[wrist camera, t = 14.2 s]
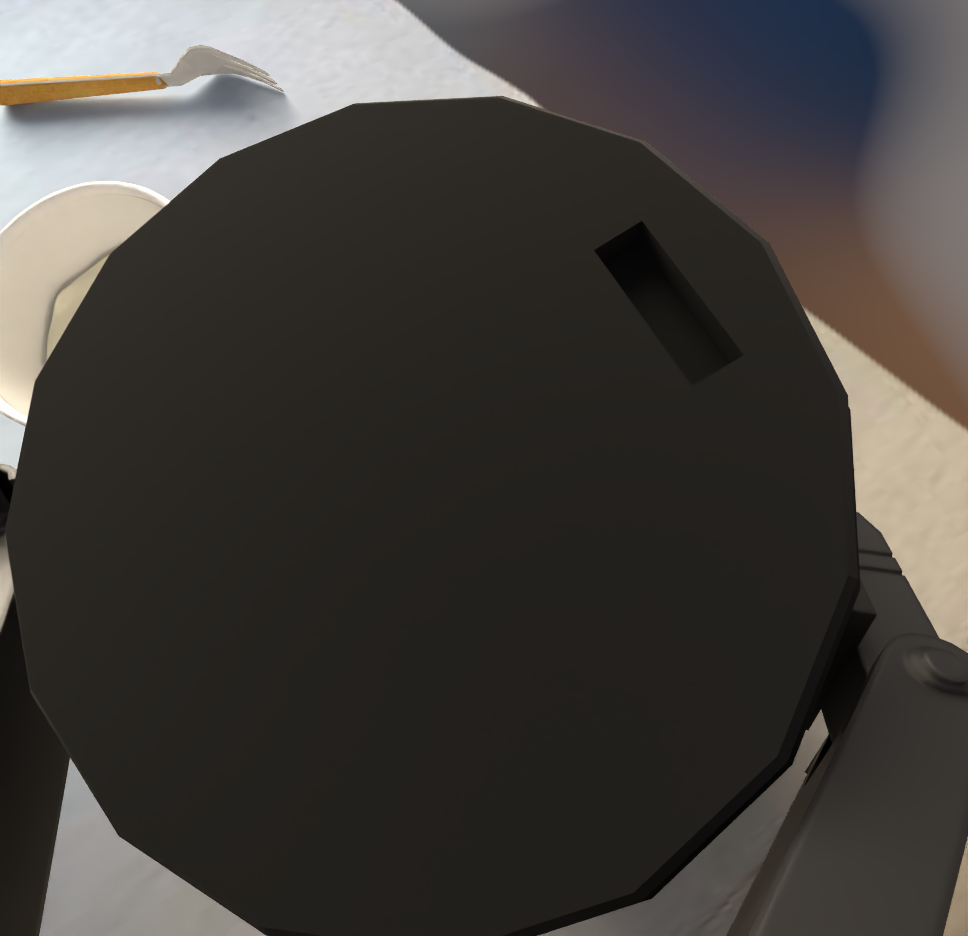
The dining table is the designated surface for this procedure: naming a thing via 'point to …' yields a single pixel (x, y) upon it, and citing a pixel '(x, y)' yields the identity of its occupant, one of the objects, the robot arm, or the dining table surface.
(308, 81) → the dining table surface
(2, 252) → the candle holder
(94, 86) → the fork
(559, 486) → the coffee cup
